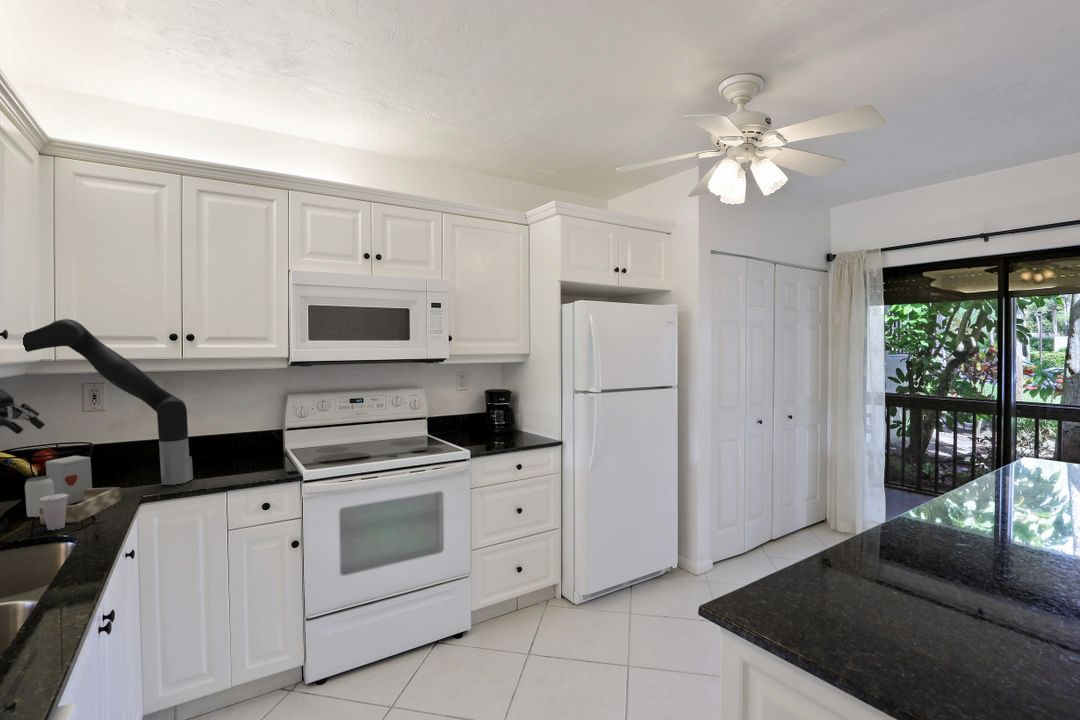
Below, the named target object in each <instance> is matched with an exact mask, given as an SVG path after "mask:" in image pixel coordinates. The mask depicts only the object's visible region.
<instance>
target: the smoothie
mask: <svg viewBox="0 0 1080 720" xmlns="http://www.w3.org/2000/svg"><path fill="white" fill-rule="evenodd" d="M51 493H52V495H50V496H46V497H43V498H41V499H39V500H40V502H39V503H41V505H42V509H43V513H44V517H45V521H46V524H45V525H46V528H47V531H48V530H53V531H56V530H55V529H58V530H61V528H62V529H63V528H65V526H66V525H65V524H66V523H65V516H66V506H67V499H68V498H69V497H68V494H55V495H54V486H53V483H51Z"/></svg>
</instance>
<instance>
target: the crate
mask: <svg viewBox="0 0 1080 720" xmlns="http://www.w3.org/2000/svg"><path fill="white" fill-rule="evenodd" d="M121 495H122V493H121V486H116V487H115V486H114V487H96V488H95V487H94V488H93V487H92V488H91V489H85V490H84V501H80V502H78V503H76V504H69V505H66V516H65V524H67V523H68V524H69V523H70V524H71V523H80V522H82V521H84V520H85V519H87V518H89V517H92V516H94V515H96V514H98V513H100V512H102V511H103V510H106V509H108V508H110V507H112V506H114V505H116V504H118V503H119V501H120V502H122V496H121ZM117 502H118V503H117ZM115 503H116V504H115ZM113 504H114V505H113ZM111 505H112V506H111ZM109 506H110V507H109ZM107 507H108V508H107ZM39 511H40V517H39V522H40V525H46V521H45V517H44V513H43V509H42V508H39Z"/></svg>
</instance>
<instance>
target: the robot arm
mask: <svg viewBox="0 0 1080 720" xmlns="http://www.w3.org/2000/svg"><path fill="white" fill-rule="evenodd" d="M24 333H25V335H24V337H23V345H24V347H25V350H26V351H27V352H26V353H29V352H33V351H38V350H43V349H49V348H58V347H68V348H70V349H71V350H73V351H74V352H75V353H77V354H79V355H80V356H82V357H83V358H84V359H86V360H87V362H89V364H90V365H91V366H92V367H93V368H94V369H95V370H96V372H97V373H98V374H99V375H101V376H102V377H103V378H105V379H106V380H107V381H109V382H110V383H111V384H113V386H115V387H116V388H118V389H119V390H122V391H124V392H125V393H126V394H129V395H131V396H133V397H135V398H138V399H139V400H141V401H142V402H144V403H145V404H147V405H148V406H149V407H150V408H151V409H152V410H154V411H155V412H156V418H157V432H158V433H157V435H158V446H159V461H160V462H159V463H160V479H161V480H160V481H161V486H162V485H175V484H181V485H183V484H182V483H185V484H187V483H186V482H188V481H190V480H192V479H193V480H194V475H193V474H194V473H193V459H192V458H193V457H192V456H190V448H189V447H190V446H189V429H188V428H189V426H188V411H187V410H188V409H187V405H186V403H185V402H184V400H182V399H181V398H179V397H177V396H175V395H173V394H171V393H170V392H168V391H167V390H165V389H164V388H162V387H160V386H159V385H158V384H157V383H155V382H154V381H153V380H152V378H150V377H149V376H148V375H147V374H145V372H143V371H142V370H141V369H140V368H138V367H137V365H135V364H133V363H132V362H131V361H129V360H128V359H126V357H123V356H122V355H120V354H119V353H118V352H117V351H114V350H113V349H111V348H110V347H109V346H107V345H105V344H104V343H103V342H101V341H100V340H99V339H98V338H97V337H95V335H93V334H92V333H91V332H90V331H89V330H88V329H87V328H86V327H85V326H84V325H83V324H81V323H79V322H78V321H76V320H74V319H68V318H64V319H58V320H55V321H53V322H51V323H49V324H46V325H45V326H42V327H40V328H37V329H34V330H31V331H28V332H24ZM14 400H15V399H14V397H13V396H12V395H10V394H9V393H8V392H6V391H5V390H4V389H3V388H1V387H0V428H1V427H4V428H8V429H9V430H10V431H12V432H14V434H16V435H19V434H21V433H22V432H23V431H24V430H25V429H24V428H23V426H21V425H20V424H18V423H17V422H15V421H14V420H19V421H26V422H29V423H30V424H31V425H33V426H34V427H35V428H37V429H38V430H40V429H43V428H44V426H45V424H46V423H44V422H43V421H41V419H39V418H38V416H40V413H39V411H36V410H35V409H34V408H33V407H31V406H30V405H29V404H27V403H25V402H24V403H22V404H21V405H18V404H16V403H14ZM193 480H192V481H193ZM190 482H191V481H190ZM188 483H189V482H188ZM175 486H176V485H175Z"/></svg>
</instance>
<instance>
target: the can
mask: <svg viewBox="0 0 1080 720" xmlns="http://www.w3.org/2000/svg"><path fill="white" fill-rule="evenodd" d="M51 483H53V482H52V480H51V478H50V476H47V475H42V476H41V475H40V476H34V477H29V478H27V479H26V482H25V484H24V494H25V495H24V496H25V507H26V517H28V518H30V517H35V518H40V511H39V508H42V505H41V503H39V502H40V500H39V499H41V498H43V497H46V496H50V495H52V493H51Z"/></svg>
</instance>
